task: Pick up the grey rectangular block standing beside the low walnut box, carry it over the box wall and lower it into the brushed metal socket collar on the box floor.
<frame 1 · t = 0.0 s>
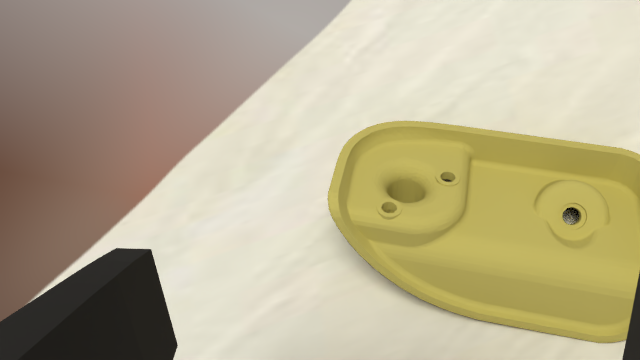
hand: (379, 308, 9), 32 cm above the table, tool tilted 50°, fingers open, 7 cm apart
plastic component: (491, 226, 42), on the table
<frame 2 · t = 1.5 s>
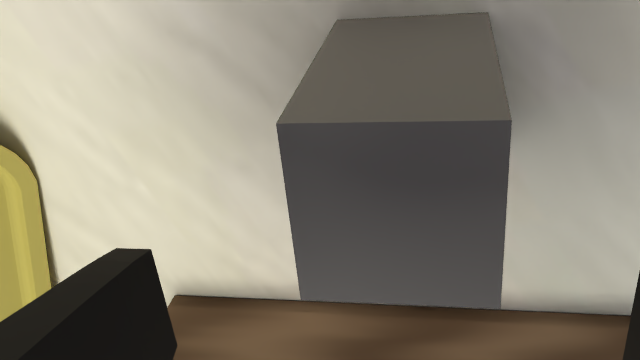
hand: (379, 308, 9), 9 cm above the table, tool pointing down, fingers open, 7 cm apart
grey rectangular block: (412, 86, 17), on the table
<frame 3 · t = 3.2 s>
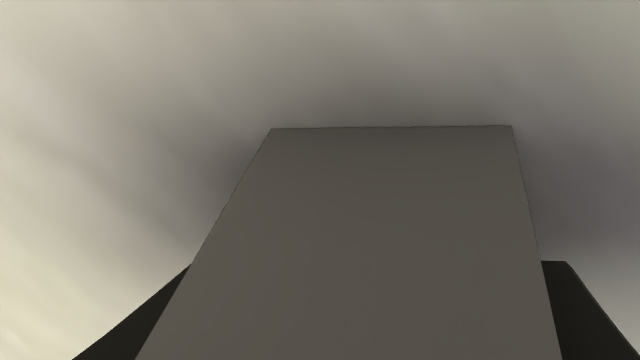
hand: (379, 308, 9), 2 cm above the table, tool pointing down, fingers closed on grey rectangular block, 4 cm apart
grey rectangular block: (391, 227, 11), on the table, touching gripper
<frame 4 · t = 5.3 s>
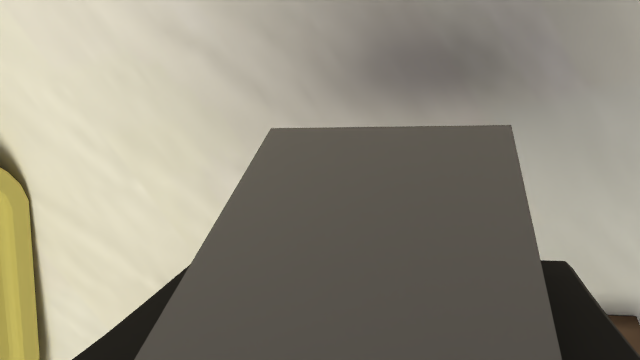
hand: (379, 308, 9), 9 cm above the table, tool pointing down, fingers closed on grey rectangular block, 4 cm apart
grey rectangular block: (391, 227, 11), point 7 cm above the table, touching gripper
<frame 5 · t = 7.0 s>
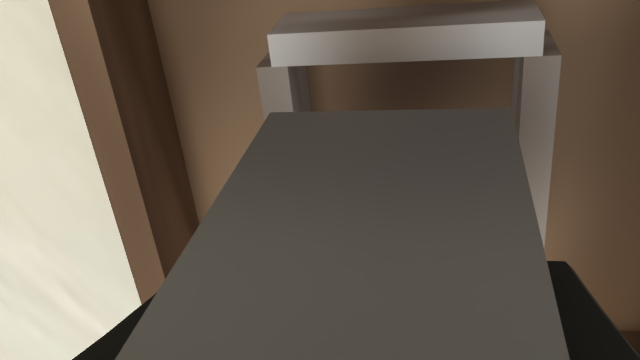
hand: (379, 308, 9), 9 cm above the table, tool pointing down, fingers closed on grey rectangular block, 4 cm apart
walnut box: (410, 124, 18), on the table
grey rectangular block: (390, 212, 11), point 7 cm above the table, touching gripper
when the fingers open (4 cm above the table, at t = 9.4 s): grey rectangular block stays where it is, resting on walnut box.
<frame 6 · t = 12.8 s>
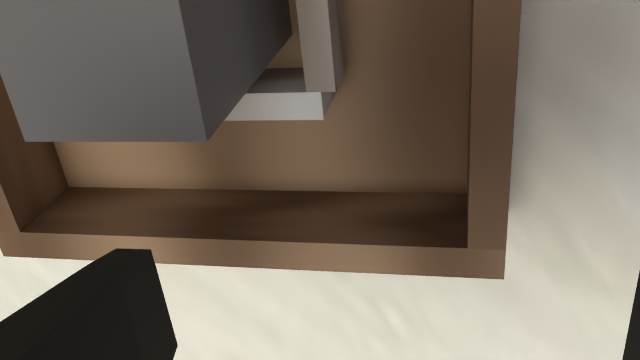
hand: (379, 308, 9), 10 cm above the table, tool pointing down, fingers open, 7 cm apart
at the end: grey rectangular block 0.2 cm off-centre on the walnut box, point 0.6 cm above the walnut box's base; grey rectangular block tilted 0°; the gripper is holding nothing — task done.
